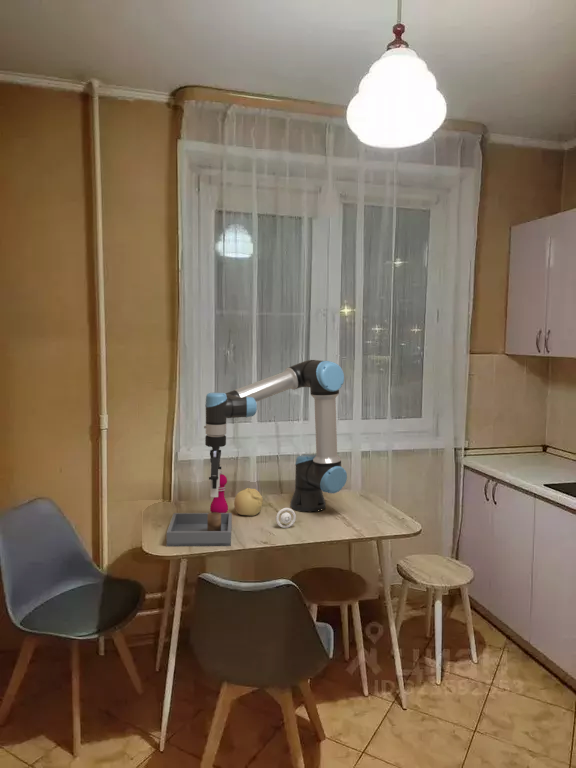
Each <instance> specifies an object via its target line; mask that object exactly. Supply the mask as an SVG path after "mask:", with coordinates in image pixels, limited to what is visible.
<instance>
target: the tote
mask: <svg viewBox="0 0 576 768" xmlns="http://www.w3.org/2000/svg"><path fill="white" fill-rule="evenodd" d="M208 513H209V512H173V514H172V517H171V519H170V522H169V526H168V527H167V531H166V547H231V545H232V526H233V525H232V523H233V522H232V521H233V513H232V512H226V513H221V531H207V523H208Z"/></svg>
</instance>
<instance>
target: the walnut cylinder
mask: <svg viewBox="0 0 576 768" xmlns="http://www.w3.org/2000/svg"><path fill="white" fill-rule="evenodd" d="M207 513H208V523H207V531H221V513H218V512H207Z"/></svg>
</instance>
